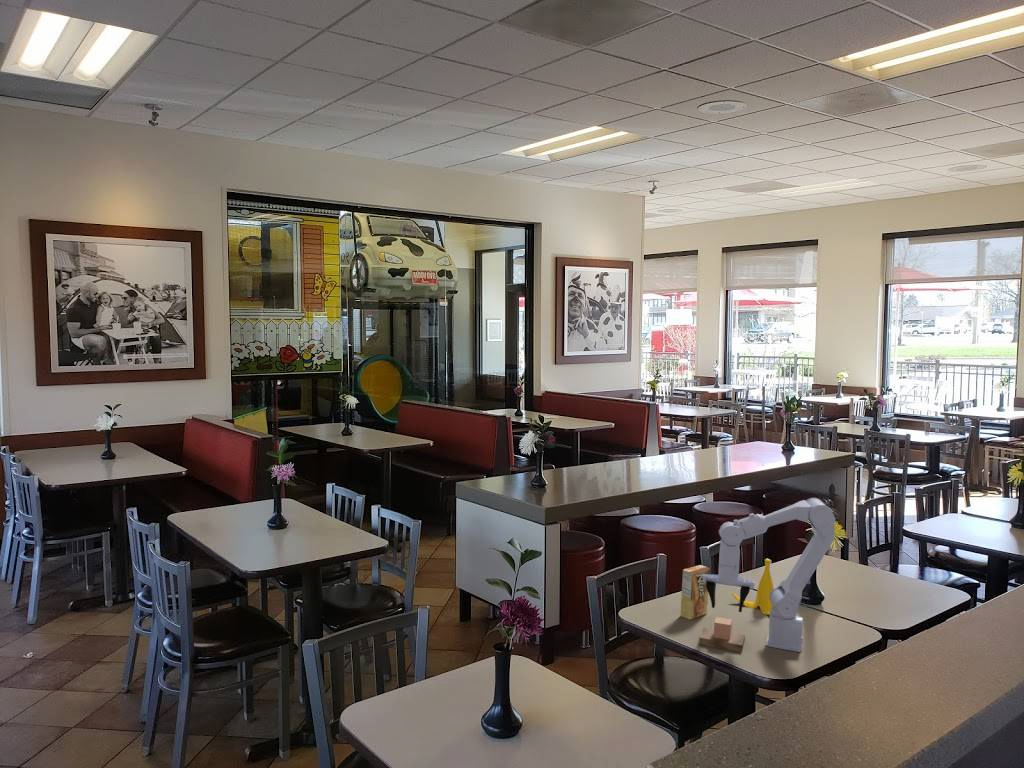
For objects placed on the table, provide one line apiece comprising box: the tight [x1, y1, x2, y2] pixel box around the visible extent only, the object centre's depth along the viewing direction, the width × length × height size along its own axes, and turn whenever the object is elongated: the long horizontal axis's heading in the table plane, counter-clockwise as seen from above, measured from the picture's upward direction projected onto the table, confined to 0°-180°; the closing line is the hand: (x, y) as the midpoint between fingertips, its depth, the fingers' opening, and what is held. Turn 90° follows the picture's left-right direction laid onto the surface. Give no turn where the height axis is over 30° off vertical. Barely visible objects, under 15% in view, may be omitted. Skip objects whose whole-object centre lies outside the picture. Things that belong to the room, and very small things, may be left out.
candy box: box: [679, 564, 711, 620], centre depth 245 cm, size 9×4×15 cm, turn 129°
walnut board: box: [698, 627, 746, 653], centre depth 225 cm, size 12×8×2 cm, turn 68°
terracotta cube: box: [713, 616, 733, 640], centre depth 225 cm, size 4×4×4 cm
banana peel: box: [731, 558, 775, 616], centre depth 254 cm, size 17×19×17 cm
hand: (726, 608), depth 227 cm, fingers open, 7 cm apart
